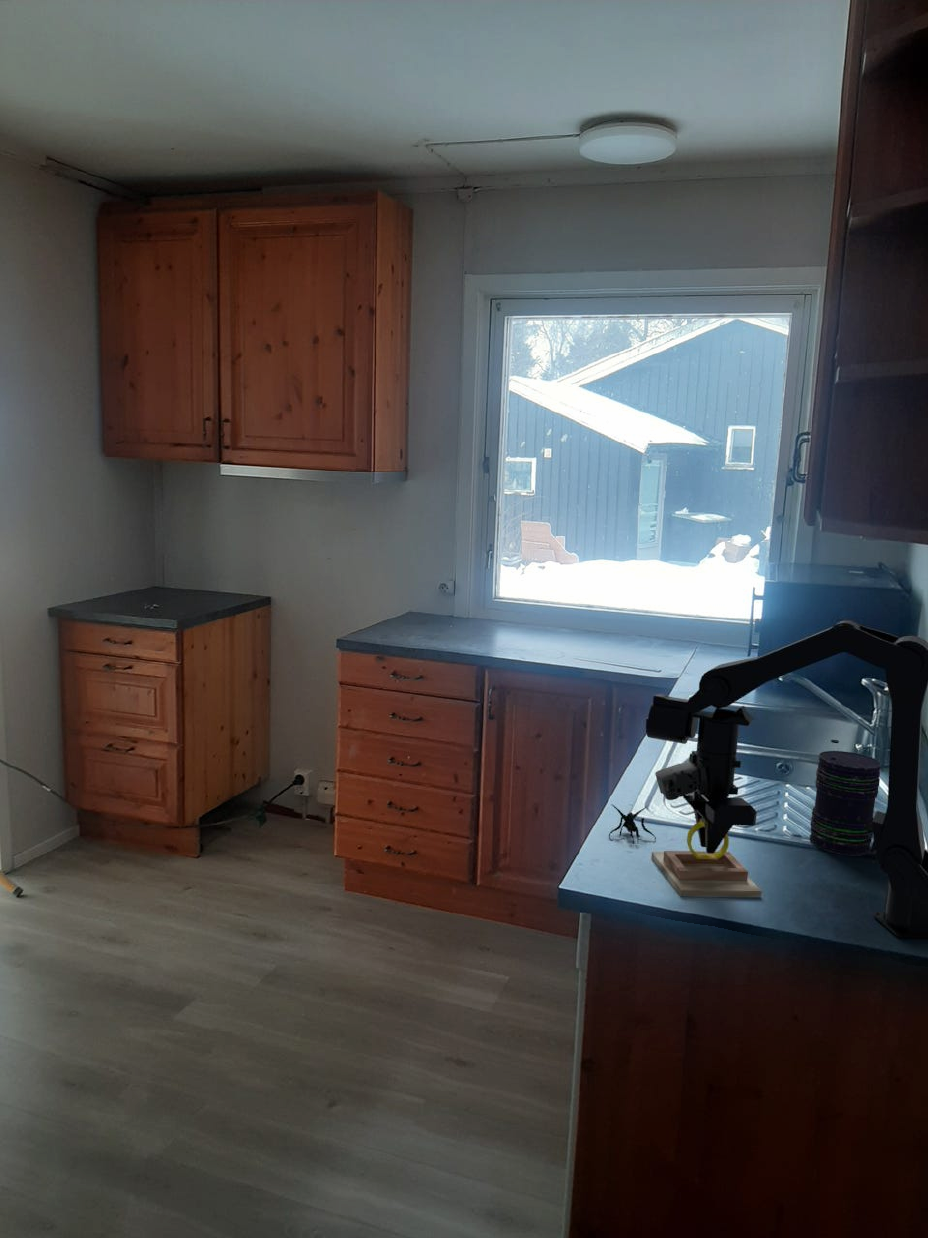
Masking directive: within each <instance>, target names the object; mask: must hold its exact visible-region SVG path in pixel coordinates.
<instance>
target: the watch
mask: <svg viewBox="0 0 928 1238" xmlns="http://www.w3.org/2000/svg"><path fill="white" fill-rule="evenodd" d="M701 827H705V821H704V819H703V818H701V819H700V822H698V823H695V824H693V825H692V826H691V828H690V829H689V830H688V832H687V836H686V843H687V846H688V849H689V851H691V853H692V854H693V855H694V856H695V857H696V858H698V859H716V860H717V859H719V858H720V857H721V856H723V855H724V854H725V852H727V850H728V849H729V846H730V845H729V843H730V842H729V841H730V838H729V835H728V833H727V834H726V836H725V837H724V839H723V844H722V845H721V848H720V850H718V851H715V852H716V853H715V854H714V855H712V854H698V853H696V852H695V849H693V846H692V840H693V836H694V834H695V833H696V832H698V829H699V828H701Z"/></svg>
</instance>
